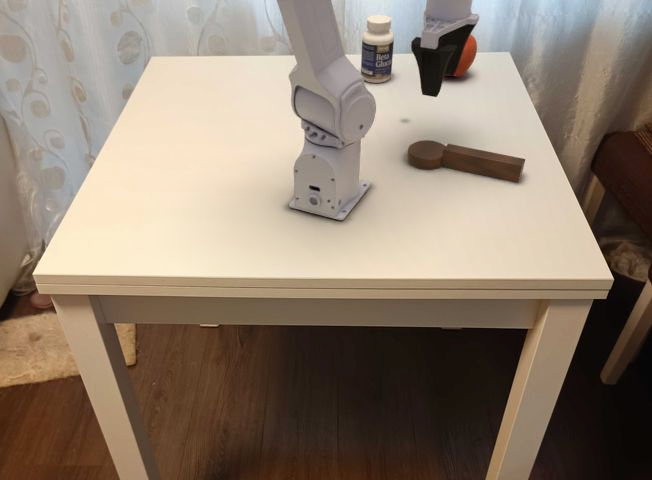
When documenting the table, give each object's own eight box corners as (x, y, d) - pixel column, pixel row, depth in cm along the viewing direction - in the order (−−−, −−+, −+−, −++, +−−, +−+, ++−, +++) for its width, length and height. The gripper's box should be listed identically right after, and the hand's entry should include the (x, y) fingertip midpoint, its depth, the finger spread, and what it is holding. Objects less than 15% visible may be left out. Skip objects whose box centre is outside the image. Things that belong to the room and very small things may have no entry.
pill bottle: (376, 86, 110) (379, 26, 104) (354, 77, 113) (356, 19, 106) (397, 77, 113) (401, 18, 106) (375, 68, 116) (378, 10, 109)
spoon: (524, 169, 90) (528, 152, 88) (514, 189, 86) (519, 172, 84) (414, 147, 95) (416, 130, 93) (401, 164, 92) (403, 148, 90)
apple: (464, 65, 116) (471, 18, 110) (478, 81, 111) (486, 33, 105) (425, 68, 115) (430, 21, 109) (437, 85, 110) (443, 37, 104)
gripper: (467, -4, 73) (450, 110, 83) (499, -39, 82) (481, 68, 92) (409, -11, 75) (399, 101, 85) (446, -44, 84) (434, 61, 94)
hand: (438, 84), depth 88 cm, fingers open, 7 cm apart
